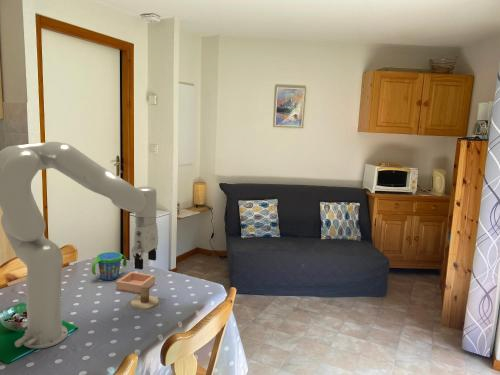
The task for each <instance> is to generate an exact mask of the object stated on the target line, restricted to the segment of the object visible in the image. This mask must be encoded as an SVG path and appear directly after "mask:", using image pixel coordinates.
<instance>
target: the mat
mask: <svg viewBox="0 0 500 375" xmlns="http://www.w3.org/2000/svg"><path fill="white" fill-rule="evenodd" d="M139 296H141V294H136V296H135V297H134V298H136V297H139ZM155 297H156V298H157V299H158V304H157V305H156V306H155V307H153V308H150V309H136V308H134V307H132V306H131V301H132V300H133V299H134V298H132V299H131V300H129V302H127V303H126V304H124V305H123V306H122V309H128V310H133V311H139V312H145V313H149V314H152V313H153V312H154V311H155V310H157V309H158V308H159V306H160V305H162V304H163V303H164V302H165V301H166V300H167V298H162V297H157V296H155Z"/></svg>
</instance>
